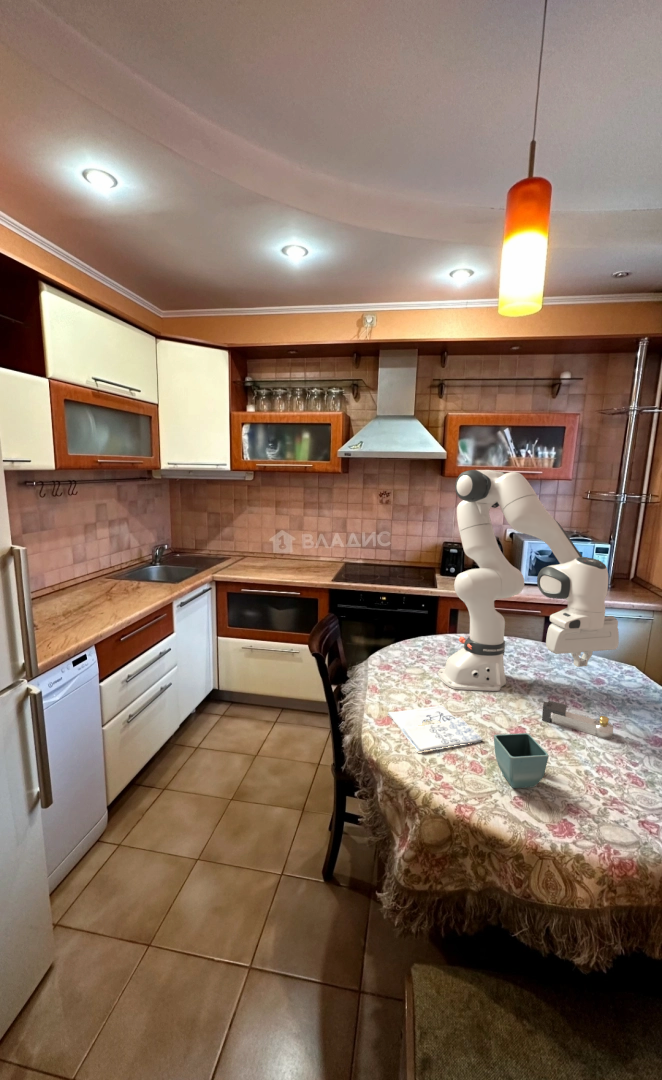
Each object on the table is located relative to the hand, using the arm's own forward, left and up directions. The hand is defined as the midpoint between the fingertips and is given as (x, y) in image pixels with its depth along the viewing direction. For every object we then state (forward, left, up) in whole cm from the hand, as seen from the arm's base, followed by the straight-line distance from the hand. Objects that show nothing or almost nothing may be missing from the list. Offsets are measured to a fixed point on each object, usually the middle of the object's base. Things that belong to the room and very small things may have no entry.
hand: (580, 665), depth 121 cm
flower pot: (-29, -20, -18) cm, 39 cm away
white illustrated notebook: (-41, +3, -18) cm, 45 cm away
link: (-1, -4, -16) cm, 17 cm away
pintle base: (-1, -4, -17) cm, 18 cm away
